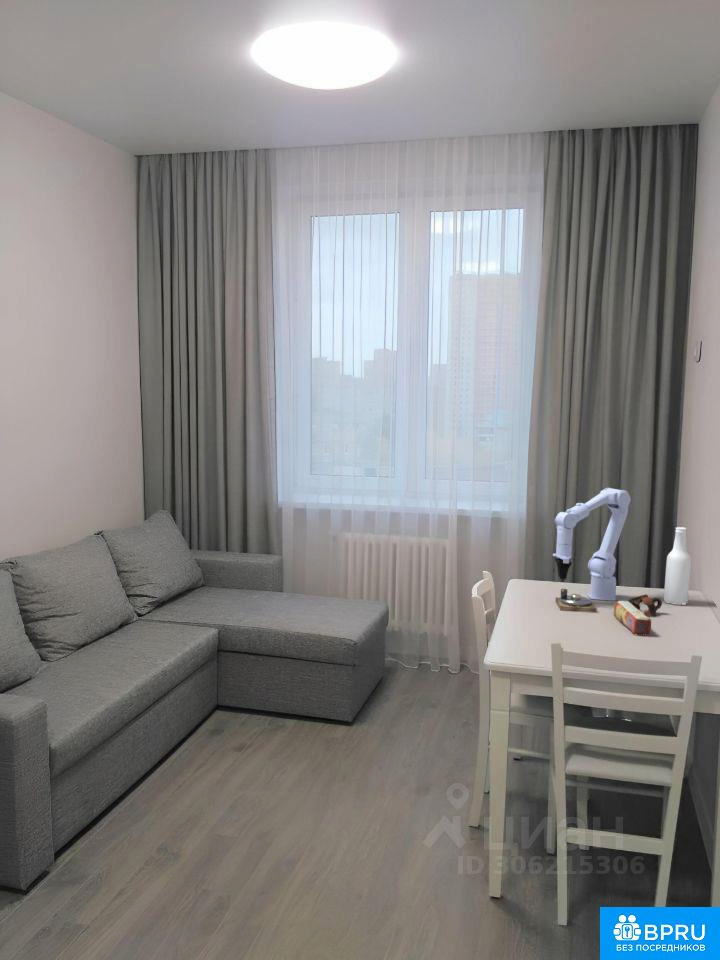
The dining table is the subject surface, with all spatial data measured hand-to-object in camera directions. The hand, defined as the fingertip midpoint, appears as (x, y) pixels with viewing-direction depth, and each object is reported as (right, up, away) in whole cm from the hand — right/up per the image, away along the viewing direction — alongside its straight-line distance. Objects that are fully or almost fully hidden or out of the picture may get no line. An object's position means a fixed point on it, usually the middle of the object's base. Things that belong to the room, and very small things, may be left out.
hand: (562, 577), depth 299 cm
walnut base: (+3, -10, -6) cm, 12 cm away
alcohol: (+46, -11, +5) cm, 47 cm away
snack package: (+17, -14, -29) cm, 36 cm away
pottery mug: (+28, -12, -12) cm, 33 cm away
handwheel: (+4, -9, -6) cm, 11 cm away
